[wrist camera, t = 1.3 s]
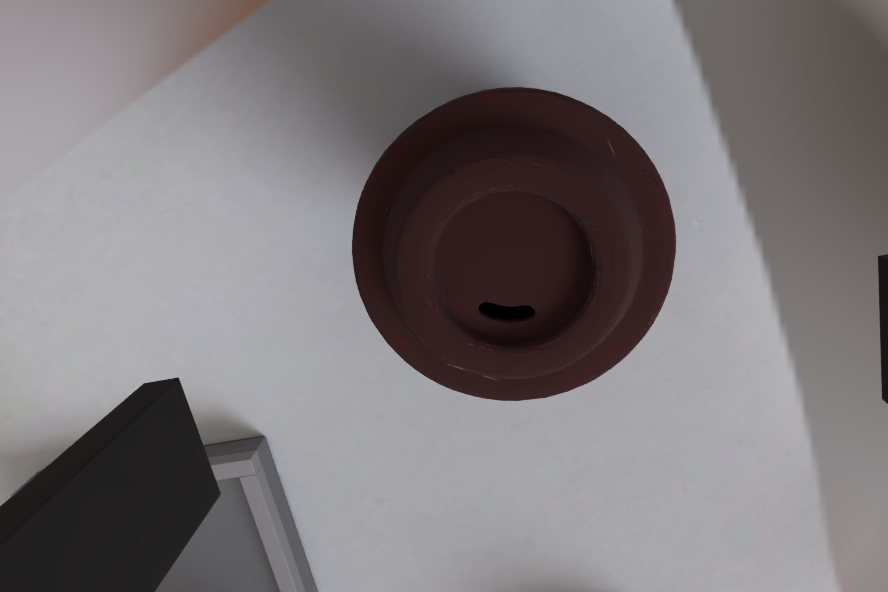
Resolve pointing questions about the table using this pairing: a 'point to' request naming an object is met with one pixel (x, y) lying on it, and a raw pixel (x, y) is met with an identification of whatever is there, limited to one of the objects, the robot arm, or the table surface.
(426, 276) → the coffee cup
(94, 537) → the robot arm
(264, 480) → the coffee machine
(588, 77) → the table surface
